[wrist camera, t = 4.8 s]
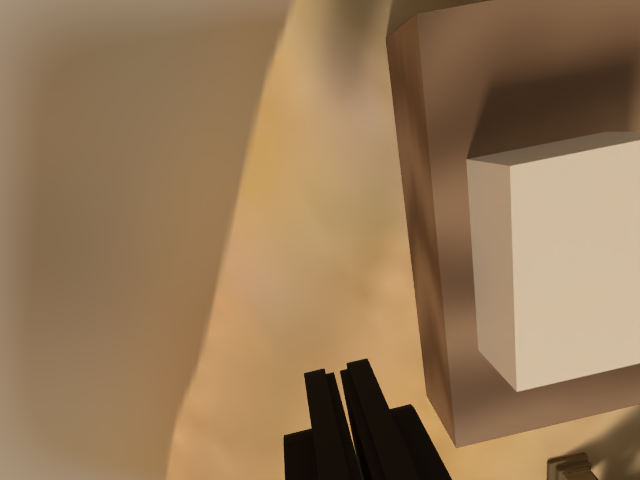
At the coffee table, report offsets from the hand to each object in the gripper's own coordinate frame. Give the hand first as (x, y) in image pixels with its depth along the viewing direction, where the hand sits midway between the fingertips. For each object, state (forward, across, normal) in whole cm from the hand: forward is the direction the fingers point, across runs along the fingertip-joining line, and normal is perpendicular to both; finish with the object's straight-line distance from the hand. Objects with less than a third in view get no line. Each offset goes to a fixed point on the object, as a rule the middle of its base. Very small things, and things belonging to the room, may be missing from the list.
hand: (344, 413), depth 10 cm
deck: (+11, -13, 0) cm, 17 cm away
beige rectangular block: (+5, -10, 0) cm, 11 cm away
